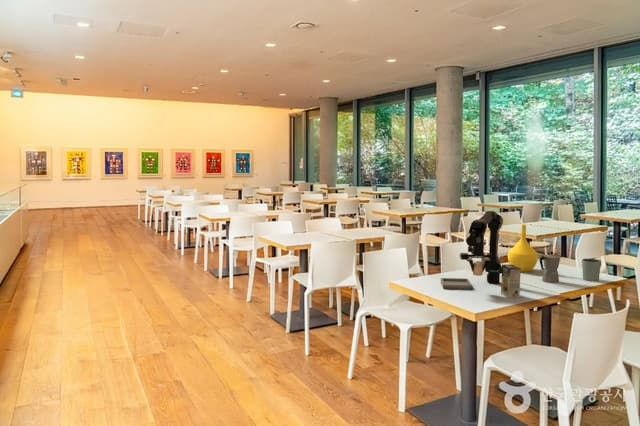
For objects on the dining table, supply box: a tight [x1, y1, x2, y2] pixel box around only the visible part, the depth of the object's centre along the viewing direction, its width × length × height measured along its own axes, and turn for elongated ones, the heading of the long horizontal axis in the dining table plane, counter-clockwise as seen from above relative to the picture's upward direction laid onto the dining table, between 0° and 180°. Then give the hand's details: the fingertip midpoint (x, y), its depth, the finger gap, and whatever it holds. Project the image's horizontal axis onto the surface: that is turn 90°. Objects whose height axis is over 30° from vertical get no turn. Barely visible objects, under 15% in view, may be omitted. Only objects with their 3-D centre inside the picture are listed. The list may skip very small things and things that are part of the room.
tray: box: [440, 277, 473, 291], centre depth 286 cm, size 16×16×2 cm
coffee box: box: [500, 263, 522, 299], centre depth 264 cm, size 9×6×16 cm
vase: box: [507, 224, 539, 273], centre depth 322 cm, size 18×18×30 cm
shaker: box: [472, 260, 484, 277], centre depth 271 cm, size 5×5×7 cm
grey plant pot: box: [581, 258, 602, 282], centre depth 296 cm, size 10×10×12 cm
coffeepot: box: [538, 250, 562, 284], centre depth 293 cm, size 15×9×18 cm, turn 110°
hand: (477, 271), depth 271 cm, fingers closed on shaker, 5 cm apart
